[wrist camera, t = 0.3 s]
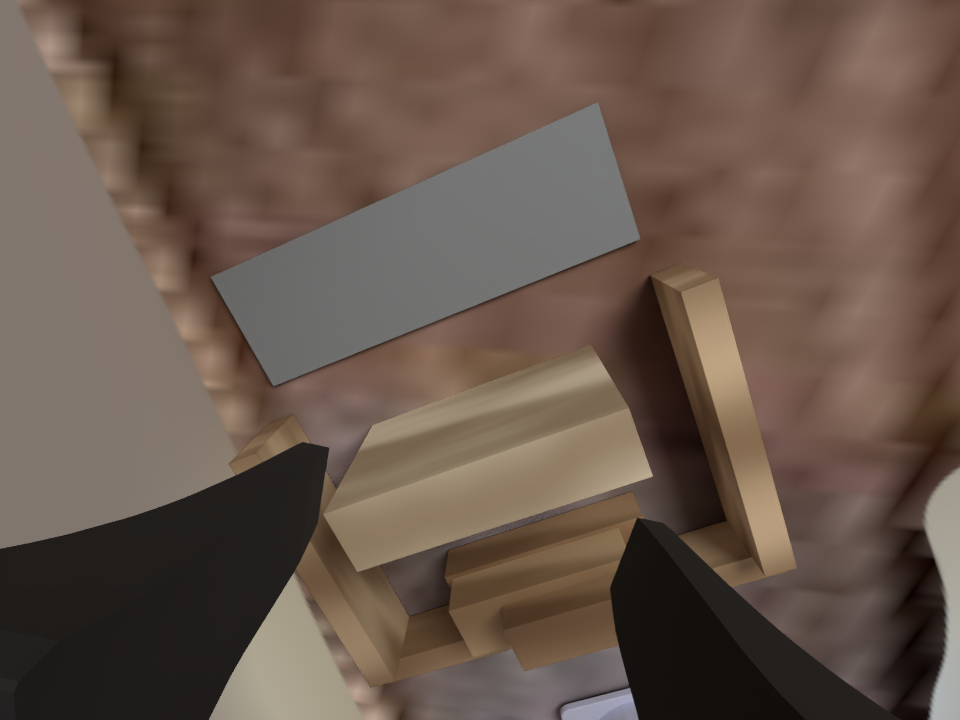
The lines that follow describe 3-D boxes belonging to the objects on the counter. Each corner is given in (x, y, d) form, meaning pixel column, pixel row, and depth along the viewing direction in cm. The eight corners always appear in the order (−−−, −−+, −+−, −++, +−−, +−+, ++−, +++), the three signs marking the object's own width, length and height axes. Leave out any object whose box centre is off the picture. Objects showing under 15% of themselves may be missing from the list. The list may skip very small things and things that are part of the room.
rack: (759, 533, 23) (803, 591, 20) (397, 640, 26) (382, 706, 22) (680, 263, 19) (718, 277, 16) (269, 423, 22) (228, 463, 19)
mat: (638, 238, 19) (640, 238, 19) (276, 384, 21) (273, 386, 21) (596, 103, 18) (597, 102, 17) (214, 276, 20) (210, 277, 20)
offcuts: (651, 543, 23) (687, 628, 19) (472, 597, 25) (466, 688, 20) (632, 491, 22) (665, 567, 18) (448, 550, 24) (436, 634, 19)
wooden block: (608, 394, 21) (652, 476, 15) (396, 469, 23) (357, 572, 17) (590, 343, 20) (629, 407, 14) (373, 424, 22) (322, 514, 16)
